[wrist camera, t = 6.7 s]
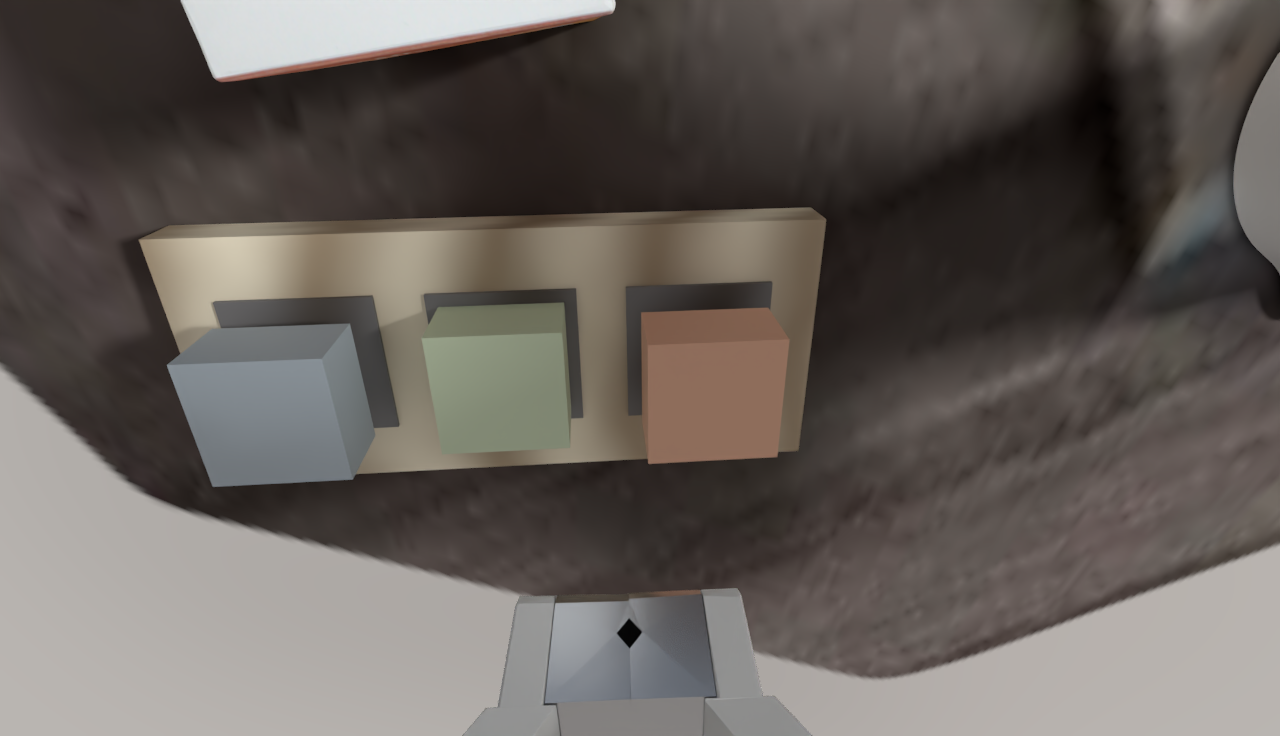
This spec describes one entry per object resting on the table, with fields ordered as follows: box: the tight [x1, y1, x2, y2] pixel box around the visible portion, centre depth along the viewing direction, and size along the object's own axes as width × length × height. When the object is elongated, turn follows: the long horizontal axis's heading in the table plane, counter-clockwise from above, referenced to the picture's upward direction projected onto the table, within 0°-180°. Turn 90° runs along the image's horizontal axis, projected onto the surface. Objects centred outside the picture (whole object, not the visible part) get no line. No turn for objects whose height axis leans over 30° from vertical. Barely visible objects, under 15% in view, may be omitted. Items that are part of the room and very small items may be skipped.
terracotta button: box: [641, 308, 790, 464], centre depth 25 cm, size 5×5×3 cm
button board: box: [139, 207, 826, 474], centre depth 28 cm, size 26×11×2 cm, turn 91°
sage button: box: [422, 302, 571, 454], centre depth 26 cm, size 5×5×3 cm
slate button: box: [167, 323, 376, 487], centre depth 24 cm, size 5×5×3 cm
